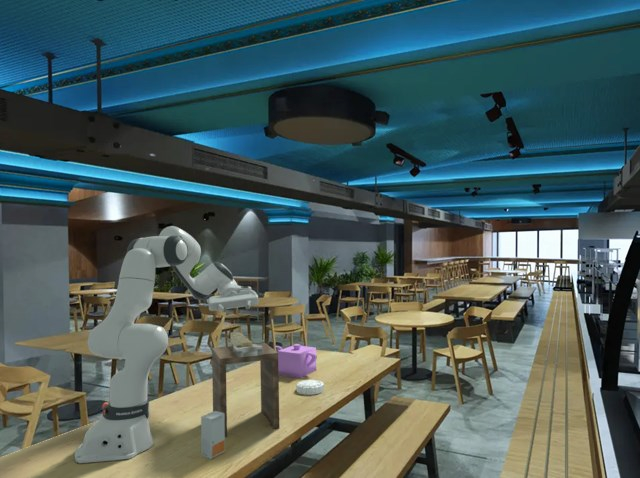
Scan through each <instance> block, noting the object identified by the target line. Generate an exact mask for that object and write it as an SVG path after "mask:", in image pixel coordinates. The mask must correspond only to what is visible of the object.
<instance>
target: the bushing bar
mask: <svg viewBox="0 0 640 478" xmlns="http://www.w3.org/2000/svg"><path fill="white" fill-rule="evenodd" d="M230 343H231V344H232V346H238V347H239V348H243V347H252V344H253V342H252V341H251V340H250V339H249V338H248V337H246V336H245V335H244V334H243V333H242V332H240V331H232V332H230Z"/></svg>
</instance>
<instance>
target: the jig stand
mask: <svg viewBox="0 0 640 478" xmlns="http://www.w3.org/2000/svg"><path fill="white" fill-rule="evenodd" d="M277 351H278V350H277ZM277 351H276V350H275V349H274V348H273V347H271V346H270V345H268V344H267V343H266V342H261V343H252V347H243V348H239V347H238V346H234V345H229V346H219V347H218V346H217V347H211V364H212V365H211V369H212V373H211V374H212V377H211V378H212V412H214V411H218V412H222V413H225V438H228V418H227V417H228V416H227V415H228V414H227V412H228V410H227V409H228V408H227V401H228V400H227V365H230V364H240V363H248V362H249V363H251V362H258V361H260V412H261V414H262V415H263V417H264V418H265V419H266V421H267V422H268V424H269V425H270V426H271V427H272V429H273V430H277V429H280V387H279V385H280V383H279V378H280V377H279V376H280V375H279V371H278V352H277Z"/></svg>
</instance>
